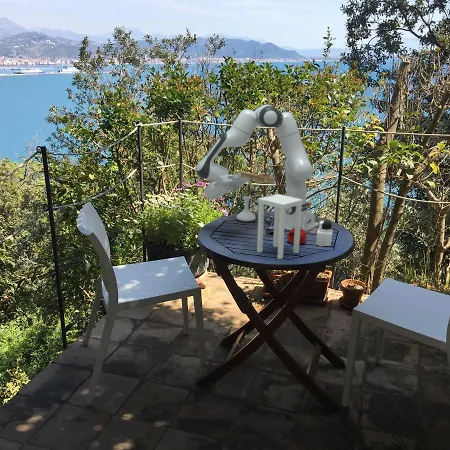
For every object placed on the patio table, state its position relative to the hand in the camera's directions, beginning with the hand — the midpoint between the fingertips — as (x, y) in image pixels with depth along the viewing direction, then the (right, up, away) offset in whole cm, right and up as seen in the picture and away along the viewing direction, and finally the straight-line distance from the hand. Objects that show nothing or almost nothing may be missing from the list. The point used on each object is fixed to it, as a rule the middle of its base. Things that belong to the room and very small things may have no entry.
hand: (243, 173), depth 221 cm
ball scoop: (+4, -3, -3) cm, 6 cm away
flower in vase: (+3, -22, +45) cm, 51 cm away
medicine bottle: (+40, -35, +5) cm, 54 cm away
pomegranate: (+27, -34, +8) cm, 44 cm away
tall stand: (+16, -38, -6) cm, 42 cm away
